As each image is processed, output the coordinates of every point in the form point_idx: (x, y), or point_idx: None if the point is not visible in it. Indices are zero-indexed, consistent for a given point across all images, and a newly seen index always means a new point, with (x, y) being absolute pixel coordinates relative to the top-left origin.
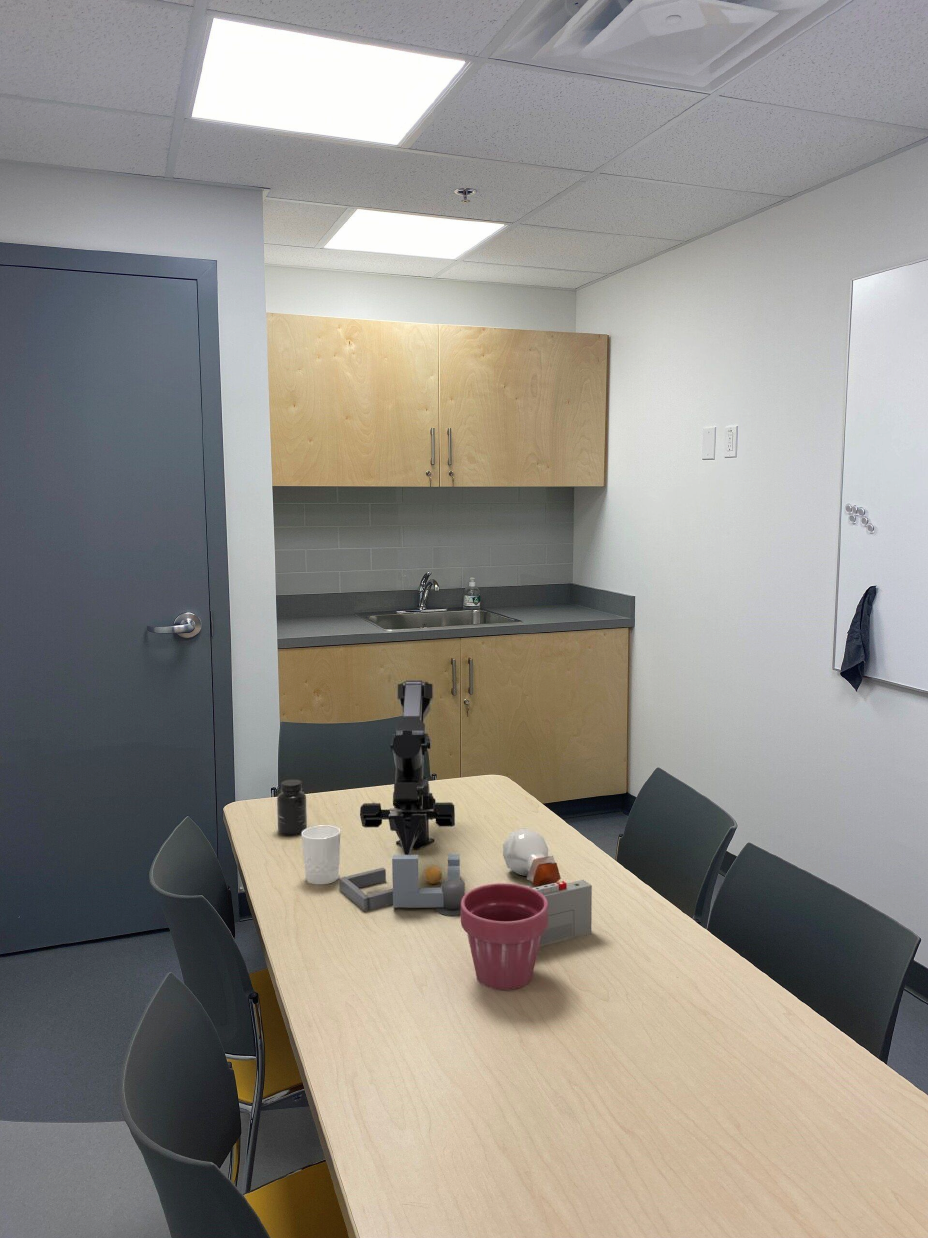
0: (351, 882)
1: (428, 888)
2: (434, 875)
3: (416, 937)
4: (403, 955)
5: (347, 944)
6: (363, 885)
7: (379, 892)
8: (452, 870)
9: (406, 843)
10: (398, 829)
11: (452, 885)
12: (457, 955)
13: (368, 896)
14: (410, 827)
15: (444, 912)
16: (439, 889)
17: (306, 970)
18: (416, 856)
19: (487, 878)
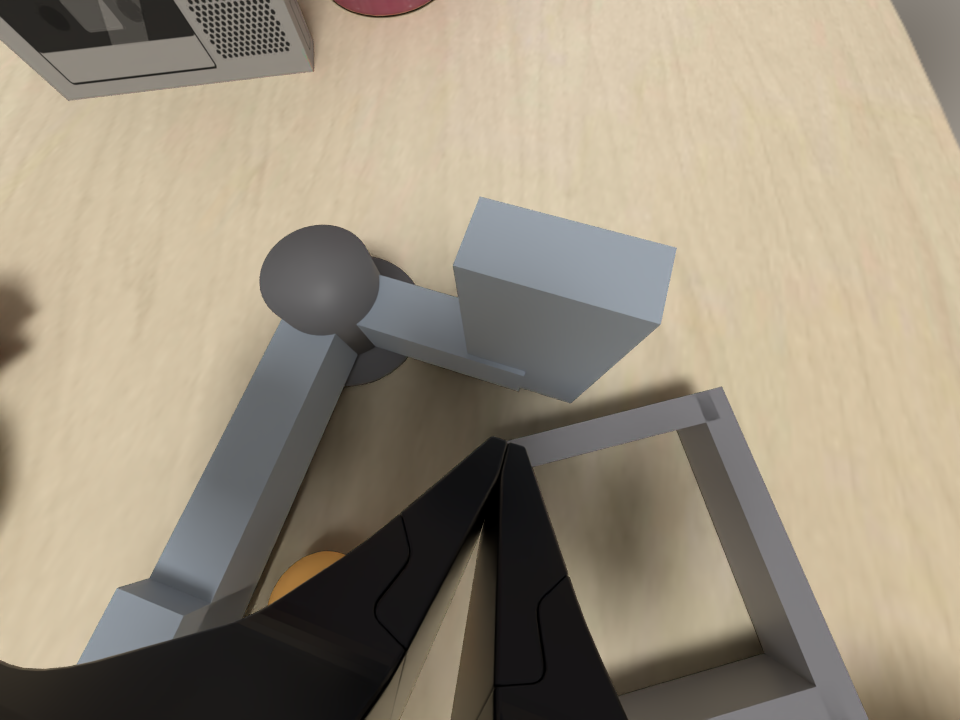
0: (788, 619)
1: (424, 337)
2: (323, 558)
3: (538, 174)
4: (596, 100)
5: (757, 193)
6: (683, 681)
7: (644, 430)
8: (222, 513)
9: (470, 610)
10: (605, 703)
11: (323, 260)
12: (456, 66)
13: (700, 404)
14: (386, 656)
15: (402, 280)
16: (380, 311)
17: (870, 101)
18: (474, 239)
19: (85, 551)
